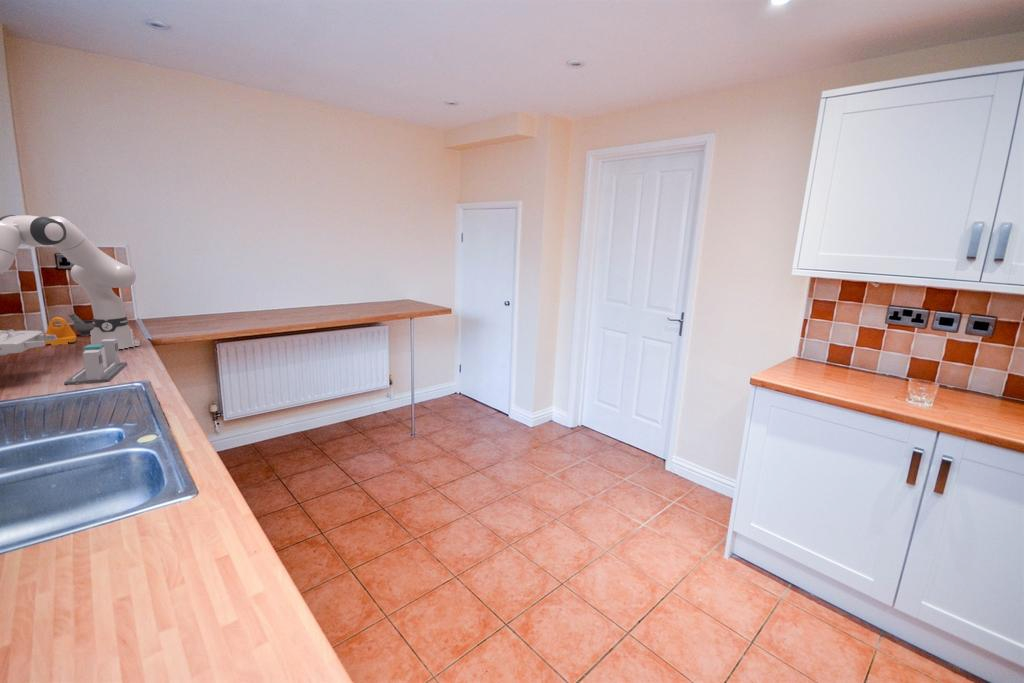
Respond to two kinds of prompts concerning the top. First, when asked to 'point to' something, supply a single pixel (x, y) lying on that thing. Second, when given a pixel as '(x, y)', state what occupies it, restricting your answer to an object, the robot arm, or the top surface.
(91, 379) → the base plate with posts
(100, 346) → the block
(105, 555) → the top surface
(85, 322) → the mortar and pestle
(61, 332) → the bracket
